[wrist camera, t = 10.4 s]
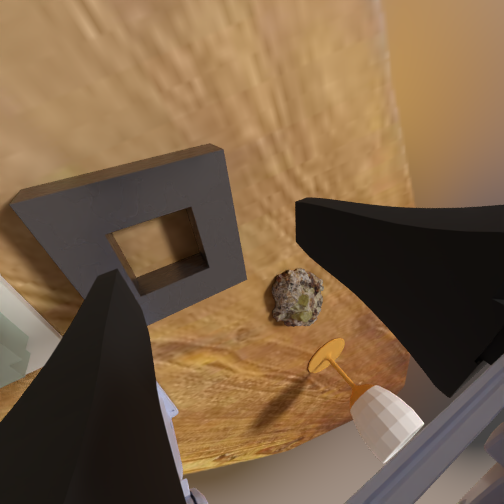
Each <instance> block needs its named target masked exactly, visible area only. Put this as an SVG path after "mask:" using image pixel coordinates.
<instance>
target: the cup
mask: <svg viewBox="0 0 504 504" xmlns="http://www.w3.org/2000/svg"><path fill="white" fill-rule="evenodd" d="M344 345H345V343H344V340H343V339H341V338H337V339H333V340H331V341H329V342H327V343H326V344H325V345H323V346H322V347H321V348H320V349H319V350H318V351H317V352H316V353H315V354H314V355H313V357H312V358H311V360H310V362H309V365H308V370H309V372H310V373H316V372H320V371H322V370H323V369H325V368H327V367H328V366H329V365H330V364H331V365H332V366H333V367H334V368H335V369H336V370H337V372H338V373H339V374H340V375H341V376H342V377H343V378H344V380H345V381H346V382H347V383H348V384H349V385H350V387H351V388H352V395H351V398H350V411H351V414H352V417H353V420H354V423H355V425H356V427H357V429H358V431H359V433H360V435H361V437H362V438H363V440H364V442H365V443H366V445H367V446H368V448H369V449H370V450H371V452H372V453H373V454H374V455H375V456H376V457H377V458H378V459H379V460H380V461H381V462H382V463H385V462H386V461H388V460H389V459H390V458H391V457H392V456H393V455H394V454H395V453H396V452H398V451H399V450H400V449H401V448H402V447H403V446H404V445H405V444H406V443H407V442H408V441H409V440H410V439H411V438H412V437H413V436H414V434H416V432H418V431H419V429H420V428H421V427H422V426H423V425H424V422H423V421H422V420H421V419H420V417H419V416H418V415H417V414H416V413H415V411H414V410H413V409H412V408H411V407H409V406H408V405H407V404H406V403H405V402H404V401H403V400H402V399H400V398H399V397H397V396H396V395H394V394H393V393H392V392H390V391H388V390H386V389H384V388H382V387H380V386H377V385H369V384H364V385H360V386H357V385H355V384H354V383H353V382H352V381H351V379H350V378H349V377H348V376H347V375H346V374H345V373H344V372H343V370H342V369H341V368H340V367H339V366H338V365H337V364H336V363H335V360H336V358H337V357H338V356H339V355H340V353H341V352H342V350H343V348H344Z"/></svg>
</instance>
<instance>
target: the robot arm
mask: <svg viewBox="0 0 504 504" xmlns="http://www.w3.org/2000/svg"><path fill="white" fill-rule="evenodd" d="M295 215H296V242H297V243H298V245H299V246H300V247H301V248H302V249H303V250H304V251H305V252H306V253H307V254H308V256H309V257H311V258H312V259H313V260H314V261H315V262H316V263H318V264H319V265H320V266H321V267H323V268H324V269H325V270H326V271H328V272H329V273H330V274H331V275H333V276H334V277H335V278H336V279H338V280H339V281H340V282H341V283H343V284H344V285H345V286H346V287H347V288H349V289H350V290H351V291H352V292H353V293H354V294H355V295H357V296H358V297H359V298H360V299H361V300H362V301H363V302H364V303H365V304H366V305H367V306H368V307H369V308H370V309H371V310H372V311H373V312H374V314H375V315H376V316H377V317H378V318H379V319H380V320H381V321H382V322H383V323H384V324H385V325H386V326H387V327H388V329H389V330H390V331H391V332H392V333H393V334H394V335H395V337H396V338H397V339H398V340H399V341H400V342H401V344H402V345H403V346H404V347H405V348H406V349H407V350H408V352H409V353H410V354H411V356H412V357H413V358H414V359H415V361H416V362H417V363H418V364H419V366H420V367H421V368H422V369H423V371H424V372H425V373H426V374H427V376H428V377H429V378H430V380H431V381H432V383H433V384H434V385H435V386H436V387H437V388H438V389H439V390H440V391H441V392H442V393H444V394H445V395H446V396H447V397H449V398H450V397H452V396H453V395H454V394H455V393H456V392H457V391H458V390H459V389H460V388H461V387H462V386H463V385H464V384H466V382H468V381H469V380H470V379H471V378H472V377H473V376H474V375H475V374H476V373H478V372H479V371H480V370H481V369H482V368H483V367H484V366H485V365H486V364H487V363H489V364H490V365H491V366H490V367H489V368H488V369H487V370H486V371H485V372H484V373H483V374H482V375H481V376H480V377H478V378H477V379H476V380H475V381H474V382H473V383H472V384H471V385H470V386H469V387H468V388H467V389H466V390H465V391H464V392H463V393H461V394H460V395H459V396H458V397H457V398H456V399H455V400H454V401H453V402H452V403H451V404H450V405H449V406H448V407H446V408H445V409H444V410H443V411H442V412H441V413H440V414H439V415H438V416H437V417H436V418H435V419H434V420H433V421H432V422H431V423H429V424H428V425H427V426H426V427H425V428H424V429H423V430H422V431H421V432H420V433H419V434H418V435H417V436H416V437H415V438H413V440H412V441H410V442H409V443H408V444H407V445H406V446H405V447H404V448H403V449H402V450H401V451H400V452H398V454H396V455H395V456H394V457H393V458H392V459H391V460H390V461H389V462H388V463H387V464H386V465H385V466H384V467H383V468H381V470H379V471H378V472H377V473H376V474H375V475H374V476H373V477H372V478H371V479H370V480H369V481H368V482H367V483H366V484H364V485H363V486H362V487H361V488H360V489H359V490H358V491H357V492H356V493H355V494H354V495H353V496H352V497H350V498H349V499H348V500H347V501H346V502H345V503H344V504H414V503H415V502H416V501H417V500H418V499H419V498H420V497H421V496H422V495H423V494H424V493H425V492H426V490H427V489H428V488H429V487H430V486H431V485H432V484H433V483H434V482H435V481H436V480H437V479H438V478H439V477H440V475H441V474H442V473H443V472H444V471H445V470H446V469H447V468H448V467H449V466H450V465H451V464H452V463H453V461H454V460H455V459H456V458H457V457H458V456H459V455H460V454H461V453H462V452H463V451H464V450H465V449H466V447H468V445H469V444H470V443H471V442H472V441H473V440H474V439H475V438H476V437H477V436H478V435H479V434H480V433H481V432H482V431H483V429H484V428H485V427H486V426H487V425H488V424H489V423H490V422H491V421H492V420H493V419H494V418H495V417H496V416H497V414H498V413H499V412H500V411H501V410H502V409H503V408H504V205H495V206H482V207H467V208H466V207H465V208H405V207H390V206H379V205H370V204H362V203H354V202H347V201H339V200H332V199H323V198H304V199H302V200H299V201H296V202H295ZM177 414H178V409H177V408H176V406H175V405H174V404H173V402H172V401H171V400H170V398H169V397H168V396H167V394H166V393H165V392H164V390H163V389H162V388H161V386H160V385H159V384H158V382H157V381H156V377H155V370H154V363H153V356H152V349H151V343H150V336H149V331H148V328H147V324H146V321H145V317H144V314H143V311H142V308H141V307H140V305H139V303H138V302H137V300H136V298H135V297H134V295H133V293H132V292H131V290H130V288H129V287H128V285H127V283H126V282H125V280H124V278H123V277H122V275H121V273H120V272H119V270H118V268H117V269H115V270H112V271H109V272H107V273H104V274H101V275H99V276H97V278H96V280H95V281H94V283H93V285H92V287H91V289H90V291H89V293H88V294H87V296H86V298H85V300H84V302H83V304H82V305H81V307H80V309H79V311H78V312H77V314H76V316H75V318H74V320H73V321H72V323H71V325H70V326H69V328H68V330H67V331H66V333H65V334H64V336H63V337H62V339H61V341H60V342H59V344H58V345H57V347H56V348H55V350H54V352H53V353H52V355H51V356H50V358H49V359H48V361H47V362H46V364H45V365H44V366H43V368H42V369H41V371H40V372H39V373H38V375H37V376H36V378H35V379H34V380H33V382H32V383H31V384H30V386H29V387H28V388H27V389H26V391H25V392H24V393H23V395H22V396H21V397H20V399H19V400H18V401H17V403H16V404H15V405H14V406H13V408H12V409H11V410H10V411H9V413H8V414H7V415H6V416H5V417H4V418H3V420H2V421H1V422H0V504H208V502H207V499H206V498H205V496H204V495H203V494H202V493H200V492H199V491H198V489H196V488H191V489H189V486H188V481H187V479H184V480H182V477H183V468H182V462H181V458H180V454H179V449H178V445H177V441H176V436H175V432H174V427H173V423H172V419H171V418H172V417H174V416H176V415H177ZM484 449H485V451H486V452H487V453H488V454H489V455H490V456H491V457H493V458H494V459H495V460H496V461H497V463H496V464H495V465H494V466H493V467H492V468H491V469H490V470H489V471H488V472H487V473H486V474H485V475H484V476H483V477H482V478H481V479H480V480H479V481H478V482H477V483H476V484H475V485H474V487H472V489H471V490H470V491H469V492H468V493H467V494H466V495H465V496H464V497H463V498H462V499H461V500H460V501H459V502H458V503H457V504H504V422H503V423H501V424H500V425H499V426H498V427H497V428H496V429H495V430H494V431H493V432H492V434H491V435H490V437H489V438H488V440H487V442H486V443H485V445H484Z"/></svg>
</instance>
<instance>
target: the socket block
mask: <svg viewBox="0 0 504 504" xmlns="http://www.w3.org/2000/svg"><path fill="white" fill-rule="evenodd" d="M9 205H10V206H11V207H12V209H13V210H14V211H15V213H16V214H17V215H18V216H19V218H20V219H21V220H22V221H23V223H24V224H25V225H26V226H27V228H28V229H29V230H30V231H31V233H32V234H33V235H34V237H35V238H36V239H37V240H38V242H39V243H40V244H41V245H42V247H43V248H44V249H45V250H46V252H47V253H48V254H49V255H50V257H51V258H52V259H53V261H54V262H55V263H56V264H57V266H58V267H59V268H60V269H61V271H62V272H63V273H64V274H65V276H66V277H67V278H68V279H69V281H70V282H71V283H72V285H73V286H74V287H75V288H76V290H77V291H78V292H79V293H80V295H81V296H82V297H83V298H84V300H85V298H86V296H87V294H88V293H89V291H90V289H91V287H92V285H93V283H94V281H95V280H96V278H97V276H99V275H101V274H104V273H107V272H109V271H112V270H115V269H117V268H118V270H119V272H120V273H121V275H122V277H123V278H124V280H125V282H126V283H127V285H128V287H129V288H130V290H131V292H132V293H133V295H134V297H135V298H136V300H137V302H138V303H139V305H140V307H141V308H142V311H143V314H144V317H145V321H146V324H147V326H148V325H150V324H152V323H154V322H156V321H159V320H161V319H163V318H165V317H167V316H169V315H172V314H174V313H176V312H178V311H180V310H182V309H184V308H187V307H189V306H191V305H193V304H195V303H197V302H200V301H202V300H204V299H206V298H208V297H210V296H213V295H215V294H217V293H219V292H221V291H223V290H225V289H228V288H230V287H232V286H234V285H236V284H238V283H241V282H243V281H245V280H247V276H246V271H245V265H244V260H243V254H242V249H241V243H240V238H239V232H238V227H237V221H236V216H235V210H234V205H233V199H232V194H231V188H230V183H229V177H228V172H227V166H226V161H225V155H224V150H223V149H222V148H219V147H217V146H215V145H212V144H206V145H201V146H197V147H193V148H189V149H185V150H181V151H177V152H173V153H169V154H165V155H161V156H157V157H152V158H148V159H144V160H140V161H136V162H132V163H128V164H124V165H120V166H116V167H112V168H108V169H103V170H99V171H95V172H91V173H87V174H83V175H79V176H75V177H71V178H67V179H63V180H59V181H54V182H50V183H46V184H42V185H38V186H34V187H30V188H26V189H22V190H20V192H19V193H18V194H17V195H16V197H15V198H14V199H13V200H12V202H11V203H10V204H9ZM185 208H186V210H187V213H188V216H189V219H190V222H191V226H192V229H193V232H194V235H195V238H196V242H197V245H198V248H199V251H200V253H198V254H196V255H193V256H191V257H188V258H186V259H183V260H181V261H178V262H175V263H173V264H170V265H168V266H165V267H163V268H160V269H158V270H155V271H153V272H150V273H148V274H145V275H143V276H140V277H138V278H136V276H135V274H134V272H133V271H132V269H131V267H130V265H129V263H128V262H127V260H126V258H125V256H124V254H123V253H122V251H121V249H120V247H119V245H118V244H117V242H116V240H115V238H114V236H113V235H112V233H111V232H114V231H117V230H120V229H123V228H126V227H129V226H132V225H136V224H139V223H142V222H145V221H148V220H151V219H154V218H157V217H160V216H163V215H166V214H169V213H172V212H175V211H178V210H182V209H185Z"/></svg>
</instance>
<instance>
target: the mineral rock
mask: <svg viewBox="0 0 504 504" xmlns="http://www.w3.org/2000/svg"><path fill="white" fill-rule="evenodd" d="M322 284H323V280H322V279H319V278H318V277H316V276H315V275H314V274H312V273H310V272H305V270H304V269H301V268H300V269H297V270H295V271H292V270H291V271H290V270H287V272H286V273H285V274H283V275H282V274H280V275H278V276H277V279H276V283H275V284H274V285H273V287H272V294H273V298H274V299H275V302H276V306H275V309H274V310H273V318H275V319H276V320H277V321H284V324H285V325H287V326H293V327H294V326H302V325H303V326H310V325H311V324H313V323H314V322H315V321H316V320H317V316H318V314H319V312H320V311H321V306H322V303H323V302H322V300H323V298H322V295H321V291H323V289H324V287H323V286H322Z"/></svg>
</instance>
